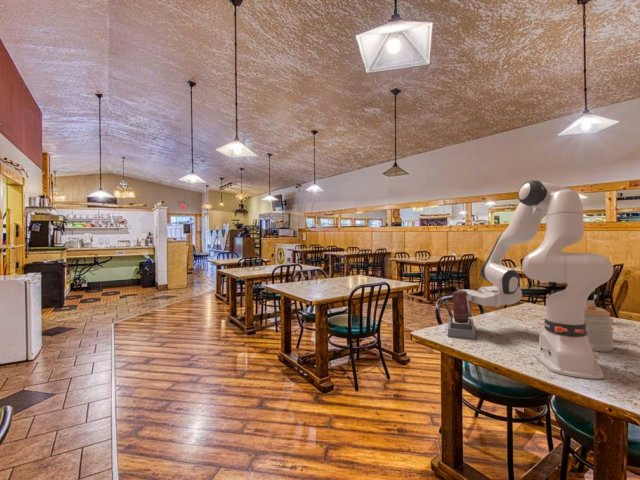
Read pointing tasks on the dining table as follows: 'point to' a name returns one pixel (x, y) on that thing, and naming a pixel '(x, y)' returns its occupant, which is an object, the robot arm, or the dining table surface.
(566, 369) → the robot arm
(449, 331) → the tray
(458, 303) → the can
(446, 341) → the dining table surface
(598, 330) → the jar
